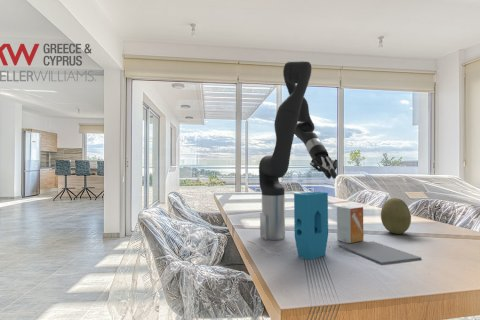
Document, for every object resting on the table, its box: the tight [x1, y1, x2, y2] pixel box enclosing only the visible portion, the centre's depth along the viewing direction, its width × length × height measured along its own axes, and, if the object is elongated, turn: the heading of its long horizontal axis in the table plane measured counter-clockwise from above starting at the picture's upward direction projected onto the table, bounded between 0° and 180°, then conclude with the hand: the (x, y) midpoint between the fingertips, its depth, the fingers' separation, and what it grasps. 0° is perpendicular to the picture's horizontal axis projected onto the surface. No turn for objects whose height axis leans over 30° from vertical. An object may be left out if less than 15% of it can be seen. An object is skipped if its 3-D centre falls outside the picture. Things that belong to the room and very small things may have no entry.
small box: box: [336, 204, 364, 244], centre depth 113 cm, size 8×6×13 cm
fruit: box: [380, 197, 412, 235], centre depth 124 cm, size 11×11×15 cm
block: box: [293, 191, 329, 261], centre depth 94 cm, size 12×5×20 cm, turn 128°
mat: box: [338, 240, 422, 265], centre depth 97 cm, size 15×20×1 cm
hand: (332, 177), depth 124 cm, fingers closed
